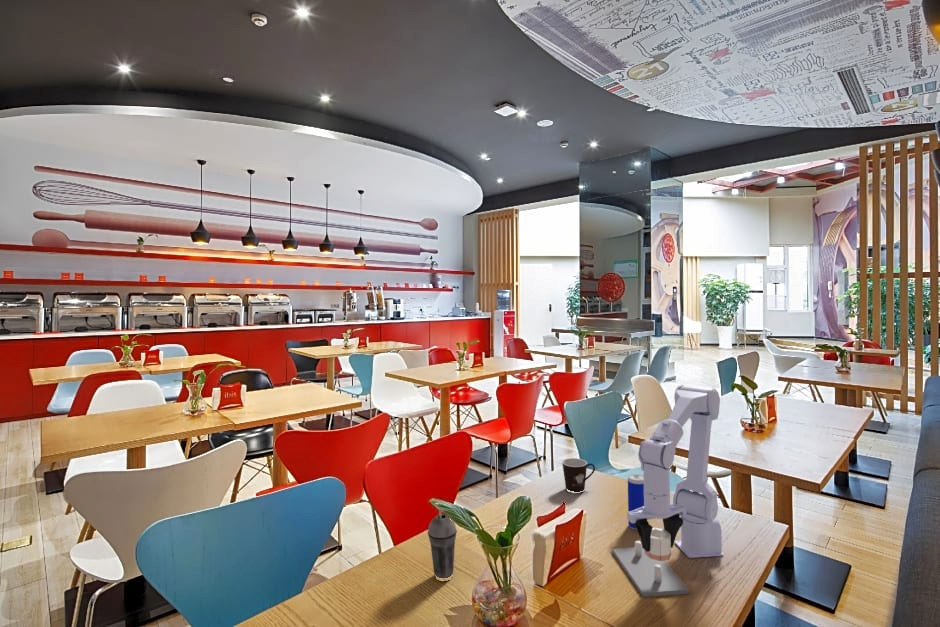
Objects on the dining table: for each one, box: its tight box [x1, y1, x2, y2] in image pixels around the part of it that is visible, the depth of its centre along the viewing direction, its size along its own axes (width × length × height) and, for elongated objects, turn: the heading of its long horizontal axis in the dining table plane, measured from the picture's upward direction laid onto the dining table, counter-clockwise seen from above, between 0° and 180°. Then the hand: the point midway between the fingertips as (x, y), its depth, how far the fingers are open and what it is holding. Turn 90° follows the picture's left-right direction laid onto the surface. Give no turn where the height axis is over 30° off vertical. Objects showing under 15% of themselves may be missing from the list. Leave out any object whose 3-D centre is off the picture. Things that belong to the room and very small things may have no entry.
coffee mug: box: [561, 457, 596, 492], centre depth 168 cm, size 12×9×10 cm
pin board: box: [611, 540, 690, 598], centre depth 118 cm, size 19×11×4 cm, turn 4°
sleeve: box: [644, 527, 672, 562], centre depth 113 cm, size 6×6×5 cm
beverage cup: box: [427, 499, 458, 578], centre depth 118 cm, size 7×7×20 cm
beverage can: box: [627, 474, 644, 531], centre depth 141 cm, size 5×5×15 cm
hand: (657, 547), depth 113 cm, fingers closed on sleeve, 6 cm apart
